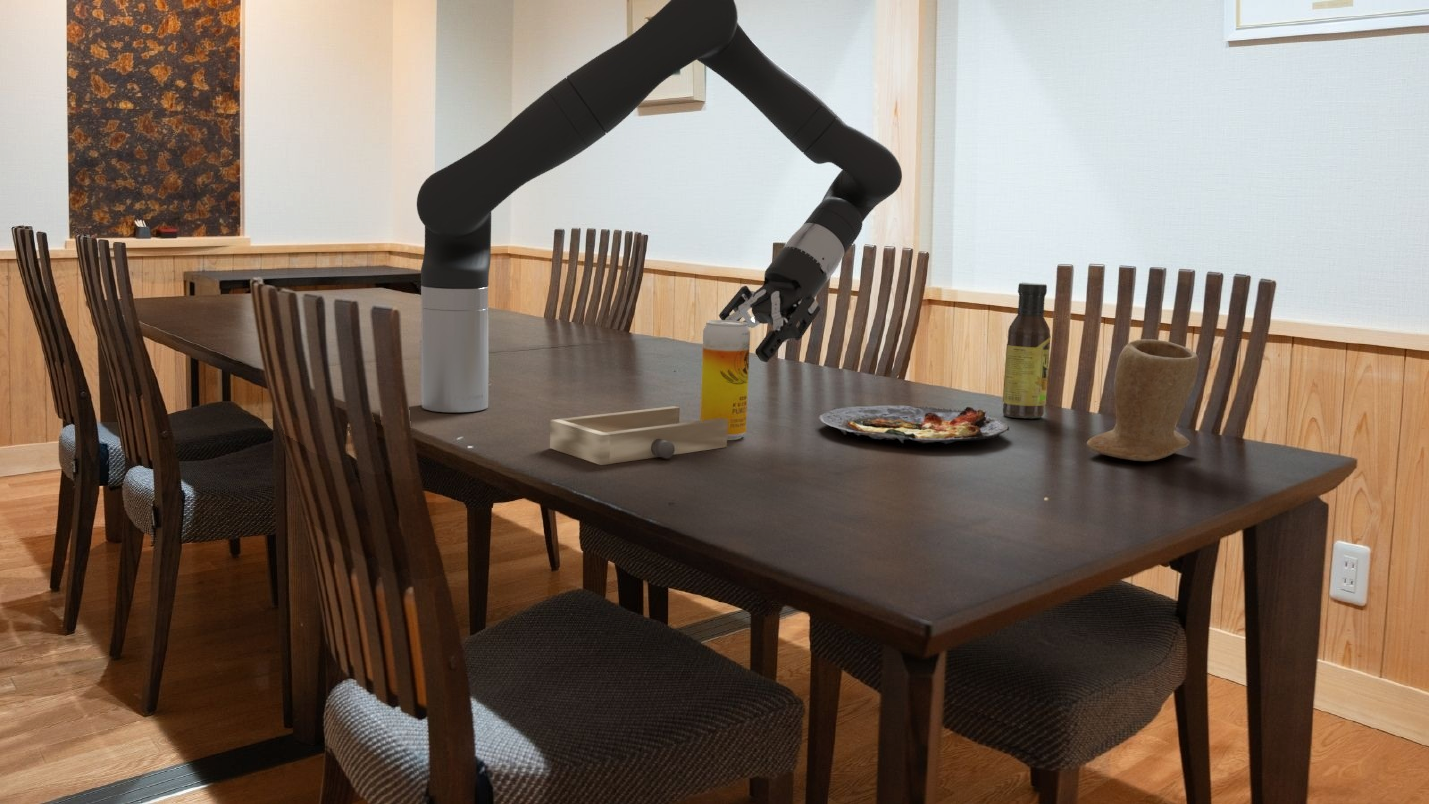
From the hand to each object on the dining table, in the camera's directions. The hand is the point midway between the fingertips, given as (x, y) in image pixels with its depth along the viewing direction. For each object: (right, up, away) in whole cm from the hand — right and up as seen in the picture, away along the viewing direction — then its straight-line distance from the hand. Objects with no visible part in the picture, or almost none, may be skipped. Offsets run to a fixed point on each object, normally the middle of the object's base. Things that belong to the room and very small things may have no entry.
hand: (738, 353), depth 158 cm
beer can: (-2, -11, 0) cm, 11 cm away
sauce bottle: (+43, -9, +23) cm, 50 cm away
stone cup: (+52, -14, -3) cm, 54 cm away
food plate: (+24, -11, +7) cm, 27 cm away
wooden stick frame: (-12, -12, -8) cm, 19 cm away
